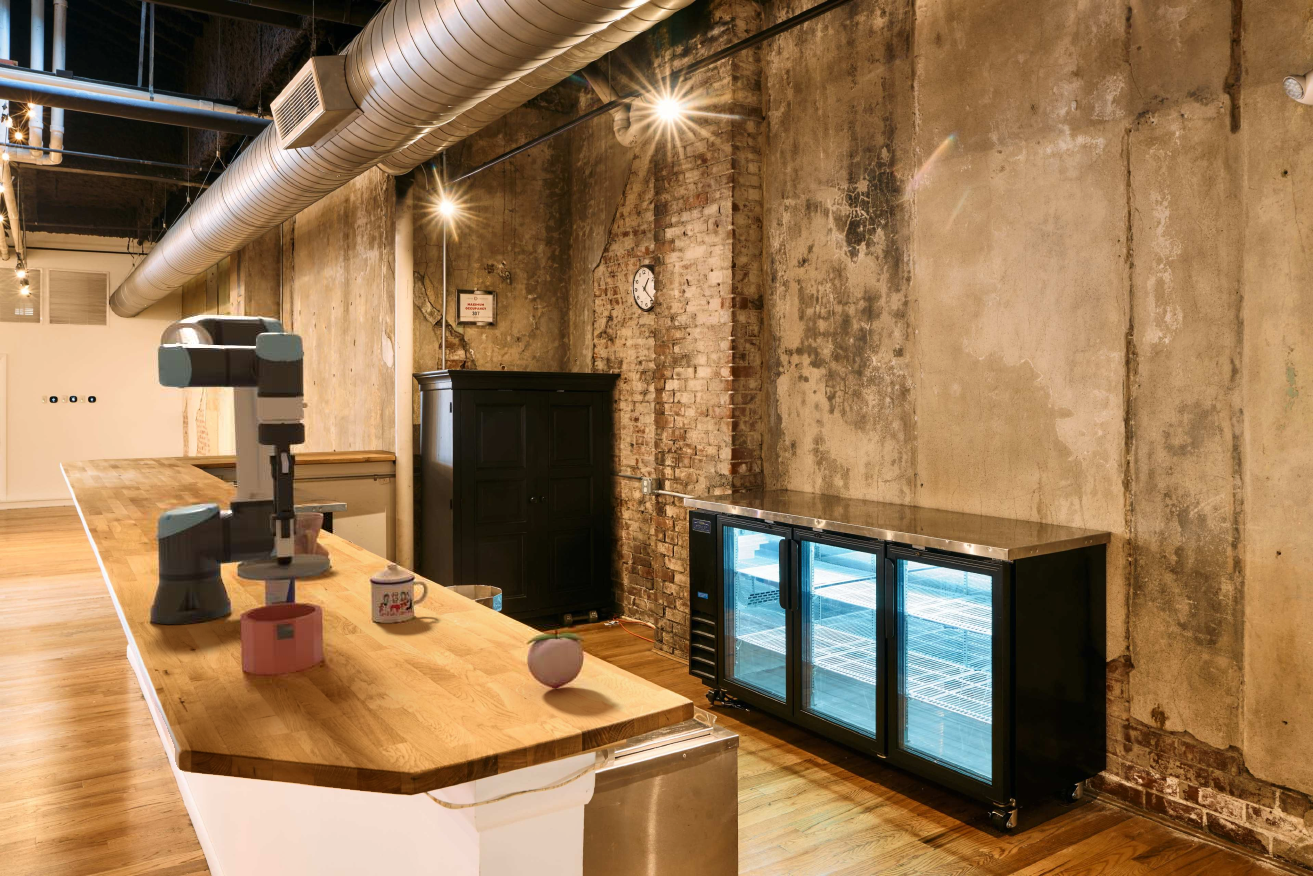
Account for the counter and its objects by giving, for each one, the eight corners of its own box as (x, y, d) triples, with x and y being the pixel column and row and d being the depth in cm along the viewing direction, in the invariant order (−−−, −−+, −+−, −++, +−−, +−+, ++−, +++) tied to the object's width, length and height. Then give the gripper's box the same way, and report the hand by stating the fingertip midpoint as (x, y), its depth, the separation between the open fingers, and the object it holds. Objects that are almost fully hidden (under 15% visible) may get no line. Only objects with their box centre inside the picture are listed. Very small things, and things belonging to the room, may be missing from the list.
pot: (328, 674, 145) (327, 622, 144) (243, 686, 139) (241, 632, 138) (316, 641, 164) (315, 595, 163) (241, 650, 158) (239, 602, 157)
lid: (217, 576, 146) (215, 518, 145) (280, 559, 160) (279, 506, 159) (289, 583, 141) (288, 523, 141) (347, 565, 156) (346, 511, 155)
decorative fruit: (535, 702, 132) (535, 639, 132) (522, 685, 140) (522, 625, 139) (593, 694, 136) (592, 632, 135) (576, 677, 144) (576, 619, 143)
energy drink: (302, 633, 169) (300, 573, 168) (282, 640, 164) (280, 579, 163) (280, 630, 171) (279, 571, 170) (260, 638, 166) (258, 577, 165)
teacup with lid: (376, 626, 174) (375, 570, 173) (365, 616, 182) (364, 562, 181) (434, 618, 180) (433, 563, 180) (421, 608, 188) (420, 556, 187)
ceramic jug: (263, 565, 233) (261, 514, 232) (317, 559, 242) (316, 509, 241) (282, 577, 219) (281, 522, 218) (339, 569, 228) (338, 517, 227)
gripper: (309, 423, 143) (312, 560, 145) (299, 419, 158) (302, 543, 160) (260, 424, 140) (263, 565, 141) (255, 420, 155) (258, 546, 157)
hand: (284, 553), depth 151 cm, fingers closed on lid, 4 cm apart
